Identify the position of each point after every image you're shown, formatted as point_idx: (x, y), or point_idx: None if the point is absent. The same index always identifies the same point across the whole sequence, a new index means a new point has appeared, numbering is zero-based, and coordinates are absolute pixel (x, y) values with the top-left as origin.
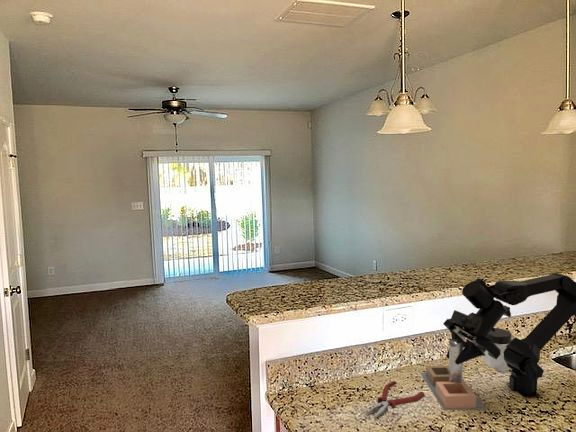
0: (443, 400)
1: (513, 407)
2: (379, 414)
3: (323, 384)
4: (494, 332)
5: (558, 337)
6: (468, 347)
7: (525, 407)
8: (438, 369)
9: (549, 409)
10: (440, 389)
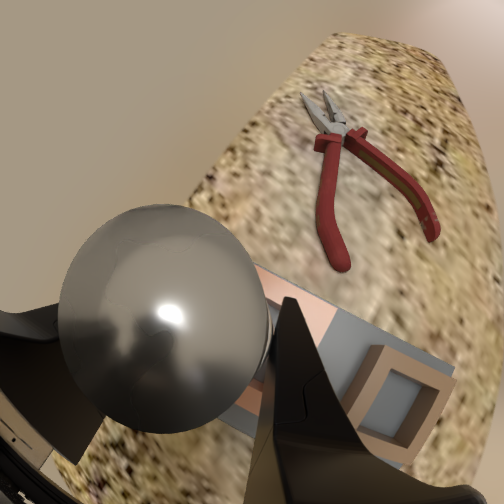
0: None
1: (143, 458)
2: (306, 104)
3: (464, 116)
4: None
5: None
6: (14, 316)
7: (130, 478)
8: (421, 417)
9: (104, 499)
10: (279, 278)
